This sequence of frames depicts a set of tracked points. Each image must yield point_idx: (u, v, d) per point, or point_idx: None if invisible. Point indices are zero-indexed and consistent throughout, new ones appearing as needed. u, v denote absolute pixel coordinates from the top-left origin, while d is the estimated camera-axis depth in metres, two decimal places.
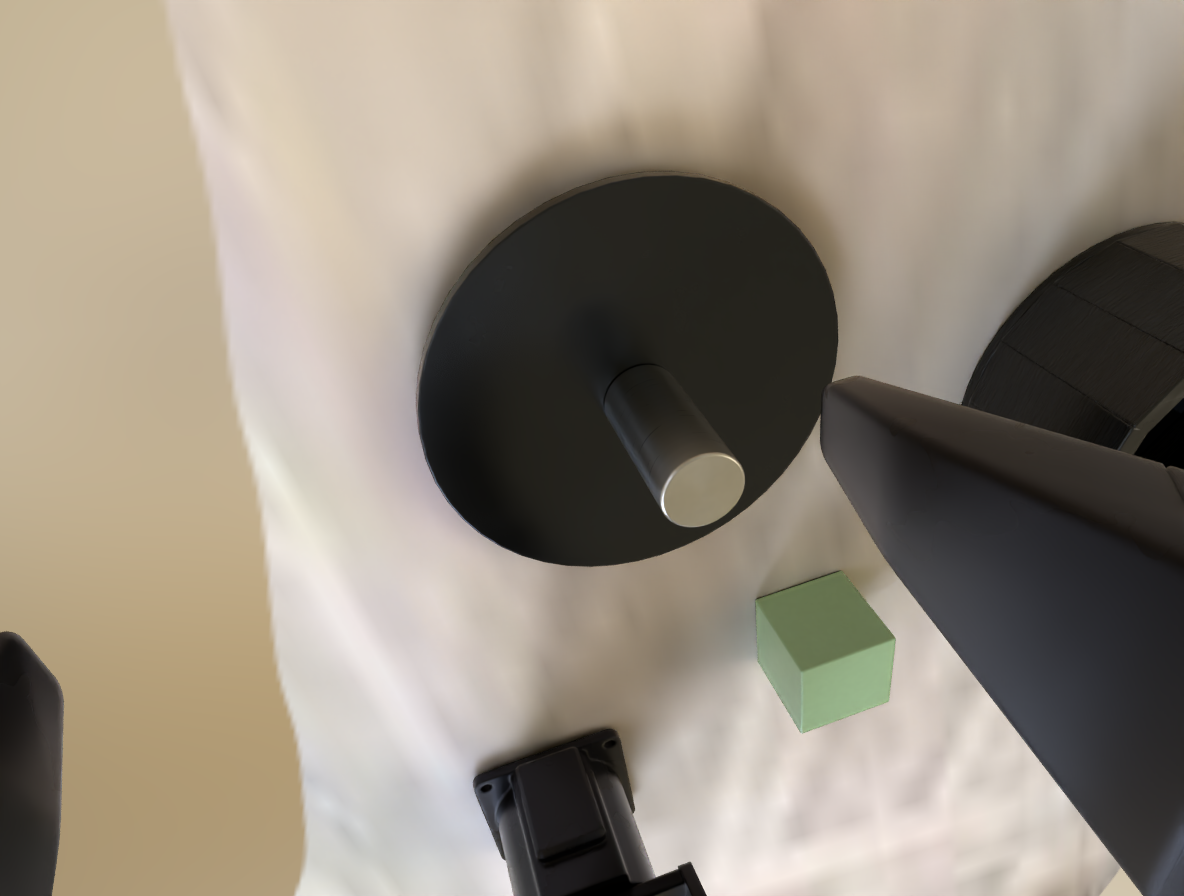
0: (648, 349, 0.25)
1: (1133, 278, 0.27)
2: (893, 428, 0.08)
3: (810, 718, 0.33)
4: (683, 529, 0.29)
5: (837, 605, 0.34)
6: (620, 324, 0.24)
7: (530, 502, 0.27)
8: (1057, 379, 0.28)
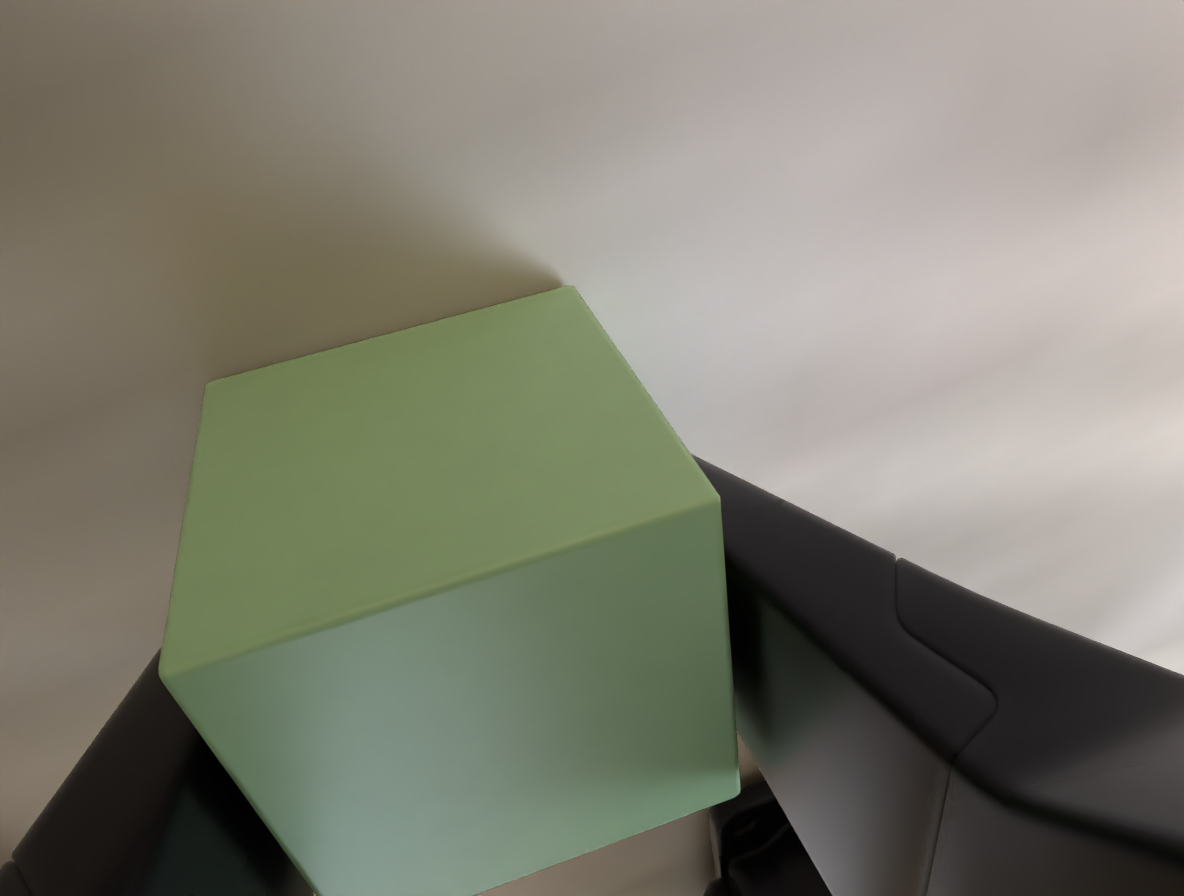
0: None
1: None
2: None
3: (658, 806, 0.08)
4: None
5: None
6: None
7: None
8: None
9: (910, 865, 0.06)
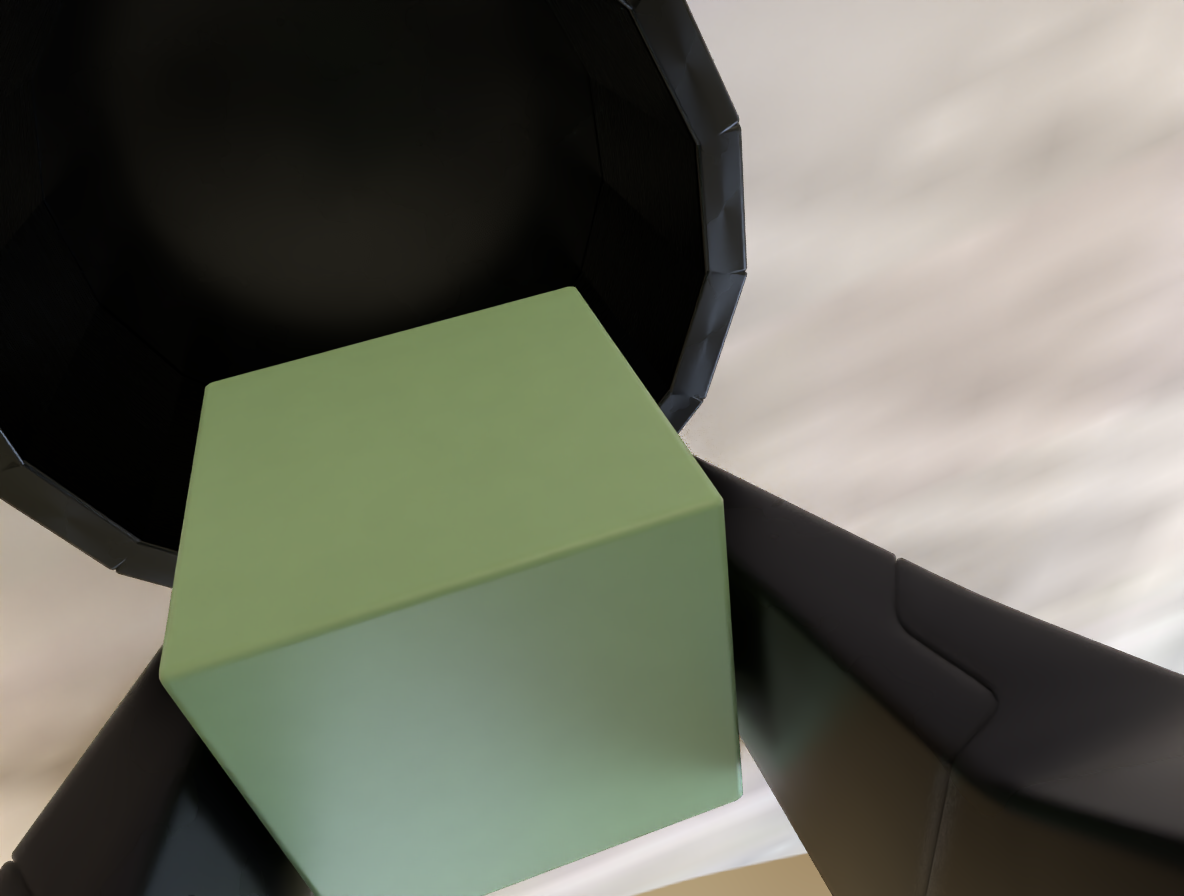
0: None
1: None
2: None
3: (660, 809, 0.08)
4: None
5: None
6: None
7: None
8: None
9: (910, 865, 0.06)
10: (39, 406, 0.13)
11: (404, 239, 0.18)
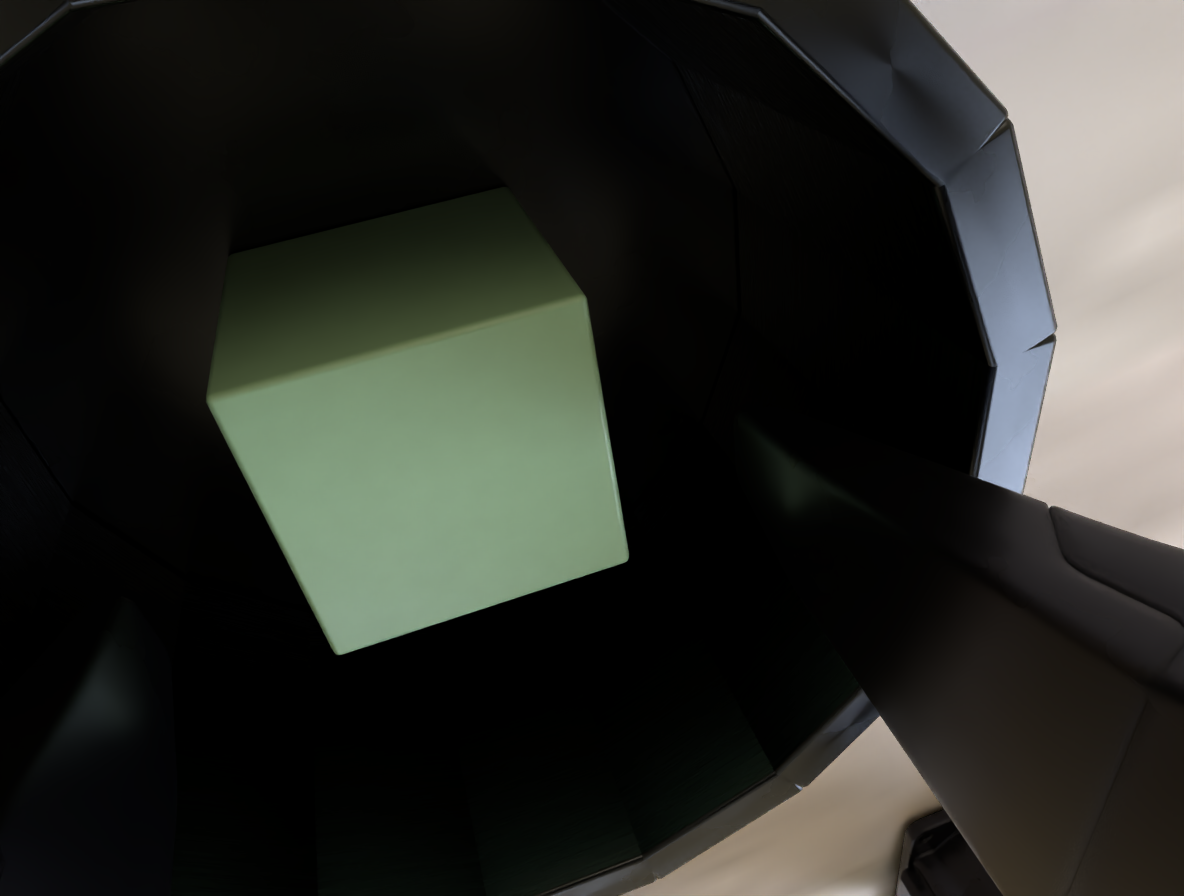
0: None
1: None
2: (792, 459, 0.08)
3: (564, 561, 0.11)
4: None
5: None
6: None
7: None
8: None
9: (1081, 796, 0.06)
10: None
11: None
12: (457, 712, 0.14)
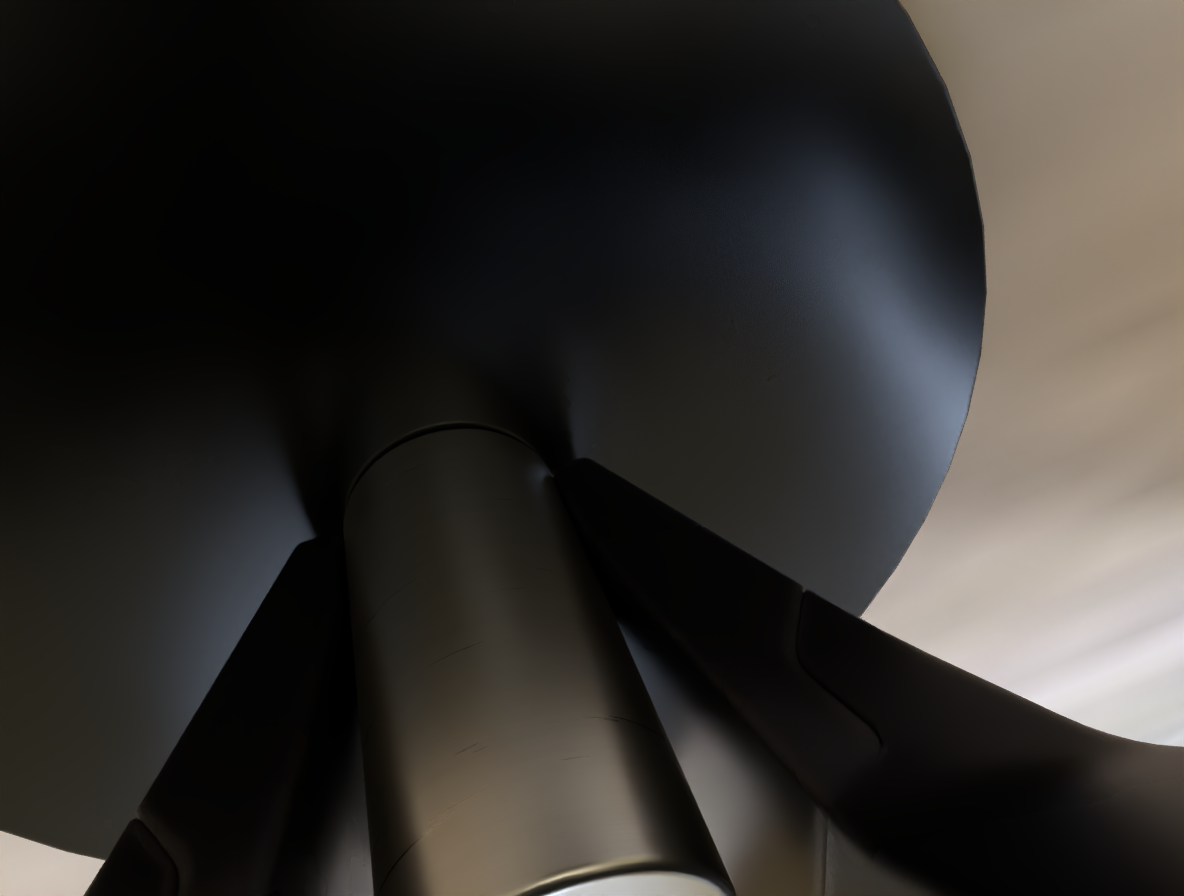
0: (296, 530, 0.09)
1: None
2: (585, 525, 0.08)
3: None
4: (927, 307, 0.10)
5: None
6: (223, 608, 0.09)
7: None
8: None
9: None
10: None
11: None
12: None
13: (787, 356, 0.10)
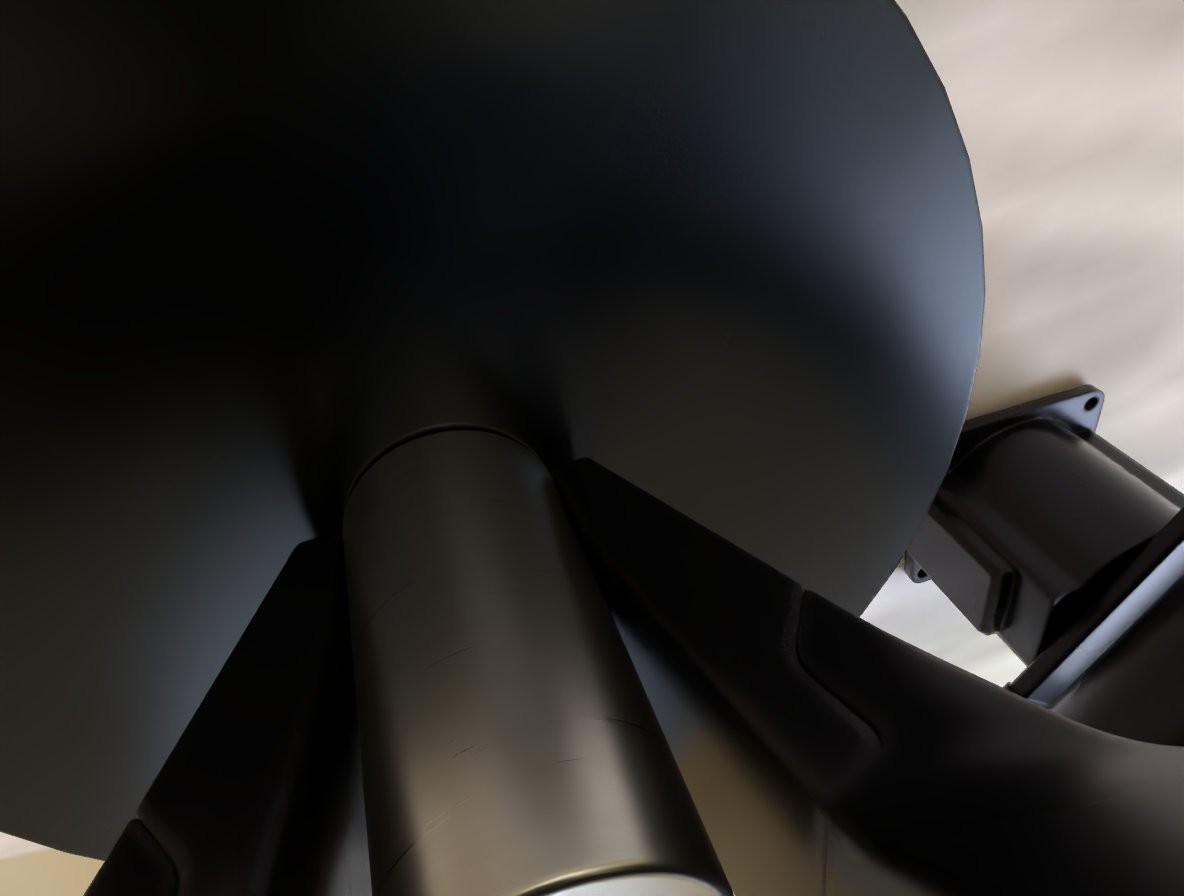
0: (296, 531, 0.09)
1: None
2: (584, 525, 0.08)
3: None
4: (925, 308, 0.10)
5: None
6: (222, 609, 0.09)
7: None
8: None
9: None
10: None
11: None
12: None
13: (786, 357, 0.10)
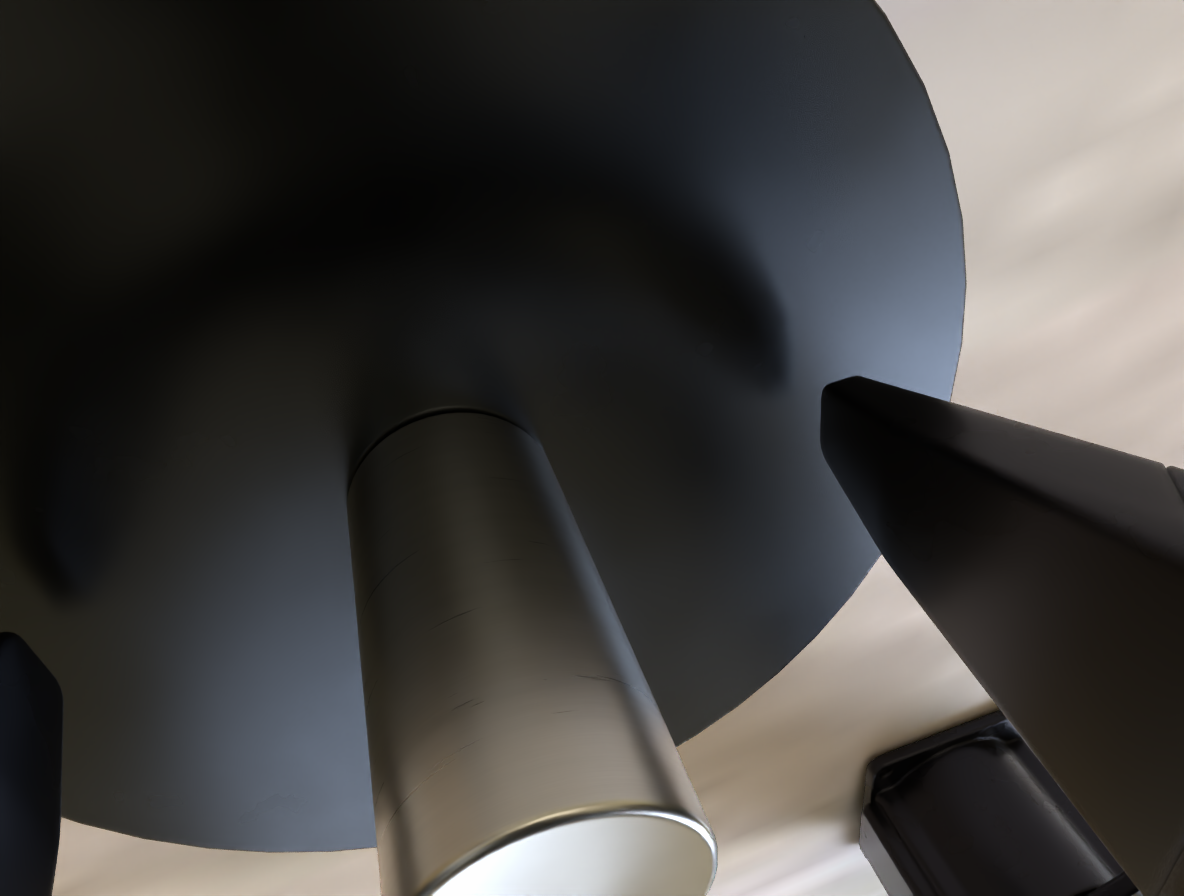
0: (302, 510, 0.09)
1: None
2: (893, 428, 0.08)
3: None
4: (908, 297, 0.10)
5: None
6: (232, 585, 0.10)
7: (691, 649, 0.13)
8: None
9: None
10: None
11: None
12: None
13: (774, 344, 0.10)
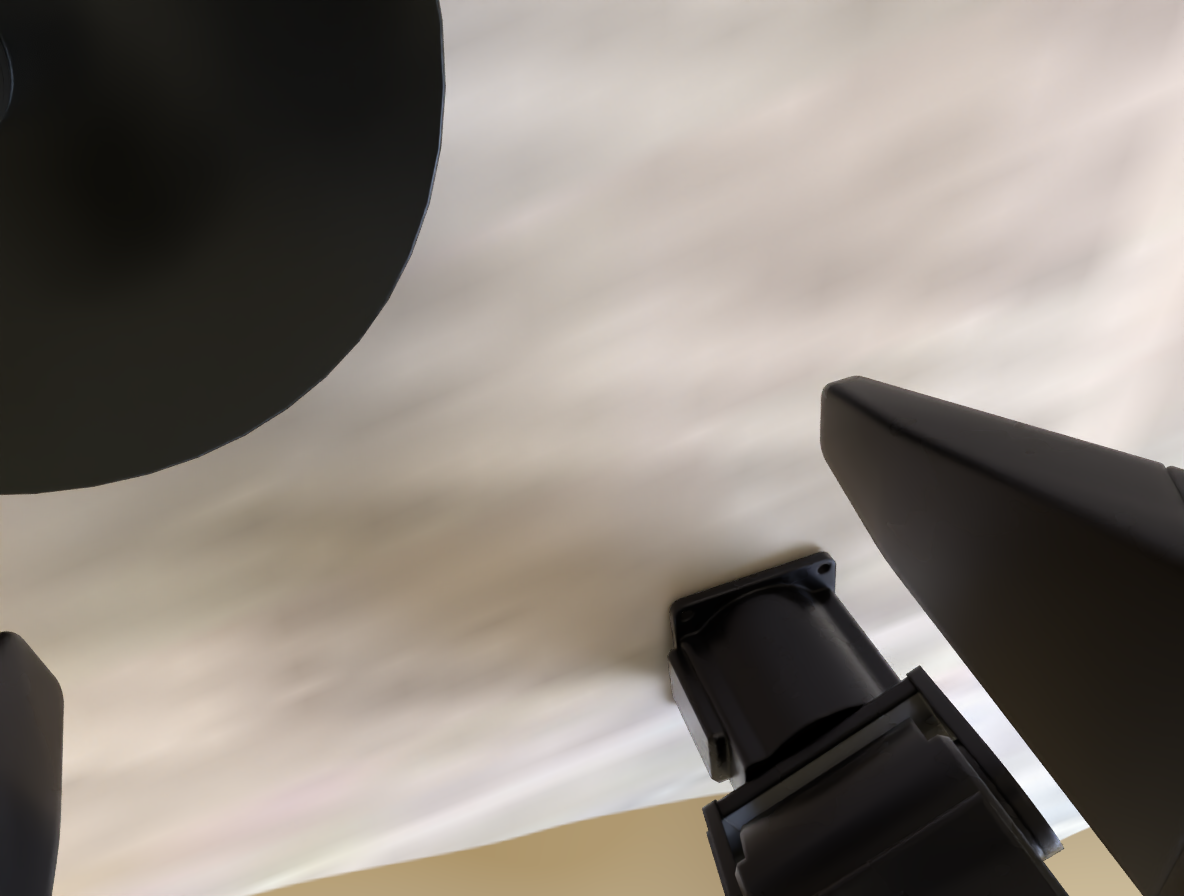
0: None
1: None
2: (893, 428, 0.08)
3: None
4: None
5: None
6: None
7: (244, 294, 0.13)
8: None
9: None
10: None
11: None
12: None
13: None
